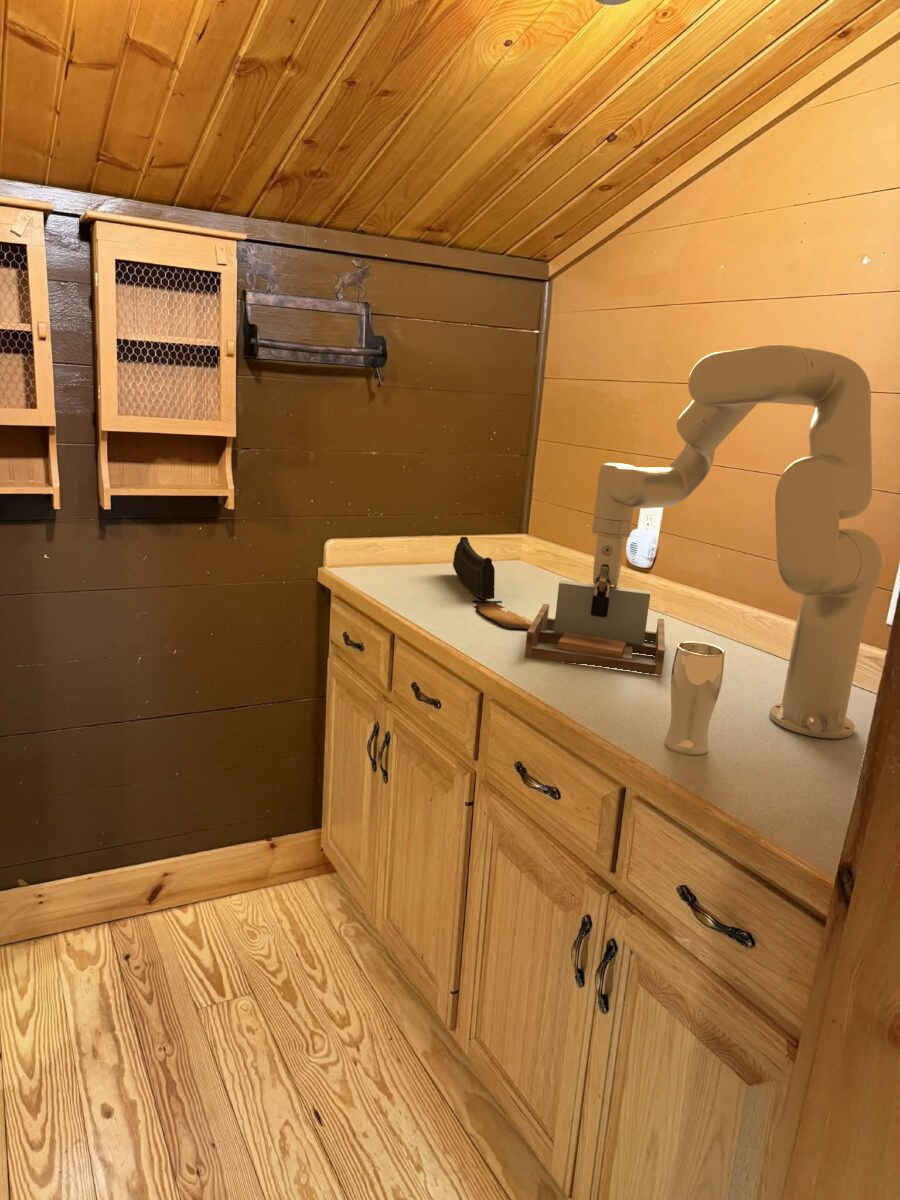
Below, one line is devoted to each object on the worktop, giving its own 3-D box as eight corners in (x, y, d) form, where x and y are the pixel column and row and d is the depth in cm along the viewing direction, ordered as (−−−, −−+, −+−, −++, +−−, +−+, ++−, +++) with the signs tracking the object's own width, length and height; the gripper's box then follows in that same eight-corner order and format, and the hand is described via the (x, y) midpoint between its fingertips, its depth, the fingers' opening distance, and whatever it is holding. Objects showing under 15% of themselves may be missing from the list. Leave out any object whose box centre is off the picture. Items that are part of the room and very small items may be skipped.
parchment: (545, 631, 177) (546, 627, 177) (503, 632, 174) (503, 628, 174) (500, 603, 200) (501, 600, 200) (462, 603, 197) (462, 599, 196)
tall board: (642, 652, 167) (650, 594, 165) (552, 640, 171) (559, 582, 168) (642, 648, 170) (650, 590, 167) (554, 636, 174) (560, 580, 171)
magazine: (500, 568, 193) (472, 512, 218) (486, 568, 192) (460, 511, 217) (488, 631, 201) (463, 569, 226) (475, 631, 200) (451, 569, 225)
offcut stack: (630, 671, 156) (632, 653, 155) (554, 660, 159) (556, 641, 158) (632, 659, 164) (635, 641, 163) (560, 648, 167) (562, 631, 166)
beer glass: (686, 734, 126) (701, 639, 123) (721, 753, 121) (737, 653, 117) (651, 740, 123) (665, 643, 120) (685, 759, 117) (700, 658, 114)
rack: (661, 676, 153) (665, 650, 152) (524, 657, 158) (527, 631, 157) (660, 642, 175) (664, 619, 174) (541, 626, 181) (543, 603, 179)
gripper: (629, 536, 156) (617, 624, 160) (632, 523, 172) (620, 603, 177) (588, 531, 158) (577, 618, 162) (595, 518, 174) (585, 598, 178)
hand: (600, 610), depth 169 cm, fingers open, 9 cm apart
